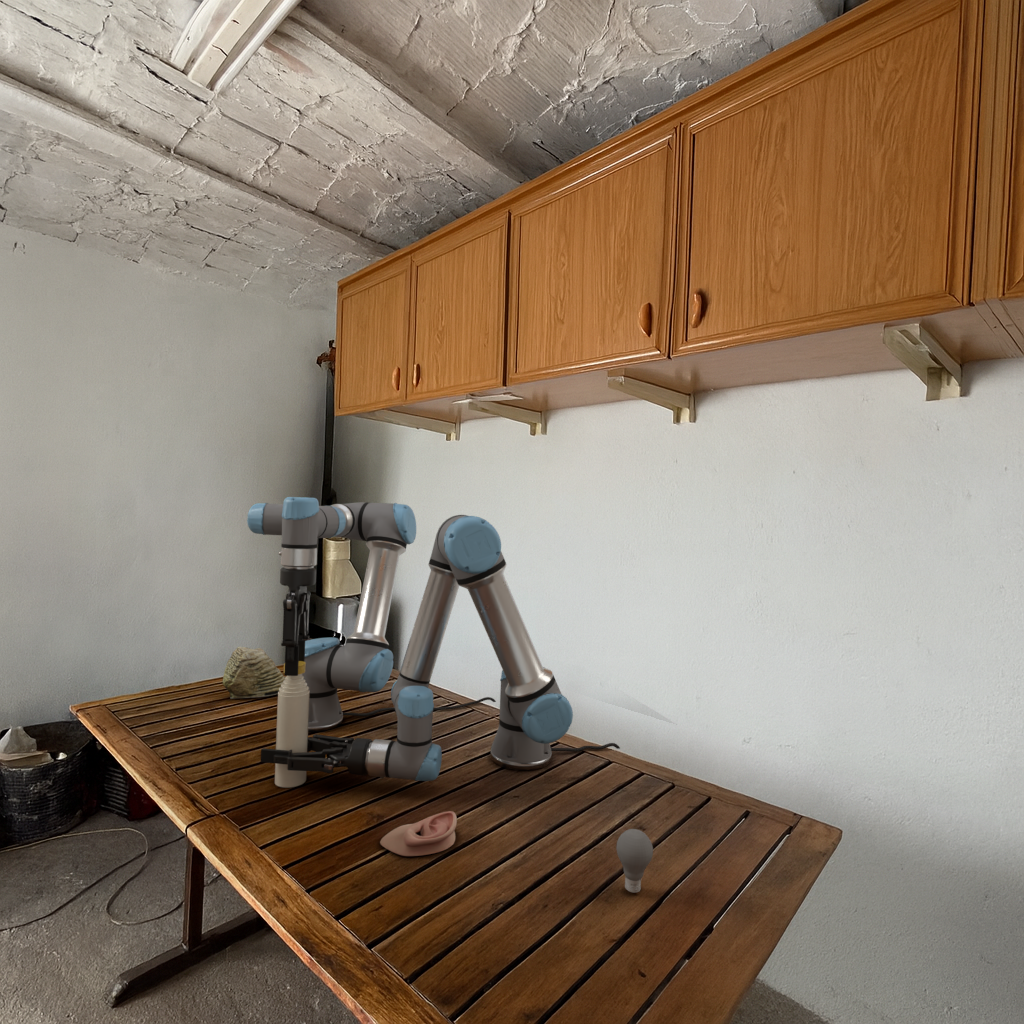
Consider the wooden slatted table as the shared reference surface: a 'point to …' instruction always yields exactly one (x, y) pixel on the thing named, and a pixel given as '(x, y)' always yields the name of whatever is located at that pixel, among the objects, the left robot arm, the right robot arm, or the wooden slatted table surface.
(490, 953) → the wooden slatted table surface
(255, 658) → the fossil
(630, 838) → the light bulb
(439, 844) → the anatomical model
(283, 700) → the bottle
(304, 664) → the cap
